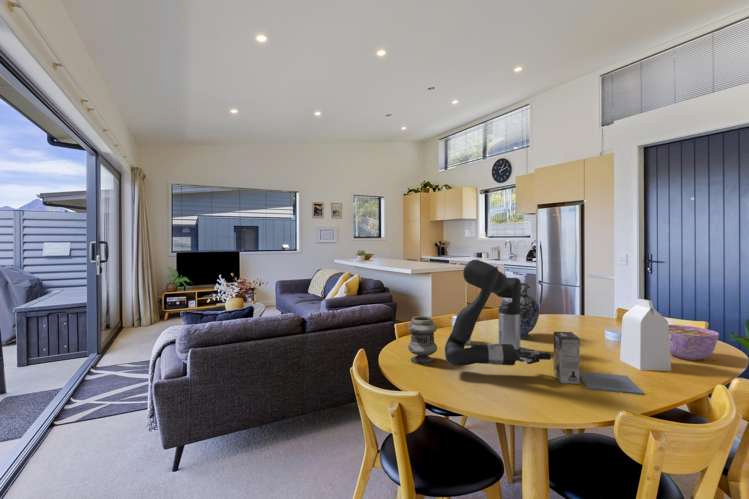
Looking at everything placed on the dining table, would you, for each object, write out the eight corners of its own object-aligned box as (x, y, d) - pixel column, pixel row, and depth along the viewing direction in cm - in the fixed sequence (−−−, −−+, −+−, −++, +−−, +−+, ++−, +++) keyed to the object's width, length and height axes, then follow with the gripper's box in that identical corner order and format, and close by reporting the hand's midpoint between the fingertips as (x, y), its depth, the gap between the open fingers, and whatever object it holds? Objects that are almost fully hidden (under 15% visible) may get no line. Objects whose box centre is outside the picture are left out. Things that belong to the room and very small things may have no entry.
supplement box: (451, 340, 182) (451, 315, 181) (466, 340, 182) (466, 315, 182) (456, 344, 174) (456, 318, 174) (471, 344, 175) (471, 318, 175)
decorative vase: (496, 331, 199) (497, 280, 199) (531, 332, 197) (532, 281, 196) (505, 341, 178) (506, 285, 178) (544, 343, 176) (545, 286, 175)
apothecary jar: (404, 363, 147) (404, 319, 147) (412, 355, 159) (411, 314, 158) (434, 366, 143) (434, 321, 143) (439, 357, 155) (439, 316, 154)
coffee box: (553, 373, 135) (552, 331, 134) (571, 374, 133) (571, 331, 133) (560, 383, 126) (560, 337, 125) (580, 384, 124) (580, 338, 124)
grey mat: (587, 389, 120) (587, 387, 120) (577, 372, 136) (577, 371, 136) (644, 395, 115) (644, 393, 115) (626, 377, 130) (626, 375, 130)
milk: (619, 360, 149) (619, 297, 149) (648, 360, 149) (648, 297, 149) (640, 370, 137) (640, 302, 137) (671, 370, 137) (671, 302, 137)
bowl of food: (654, 357, 152) (654, 330, 152) (658, 347, 167) (658, 322, 167) (719, 368, 138) (719, 338, 138) (718, 356, 153) (718, 329, 153)
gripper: (503, 349, 126) (556, 351, 124) (496, 339, 139) (544, 340, 137) (503, 370, 126) (556, 373, 124) (496, 358, 139) (544, 360, 137)
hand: (550, 356), depth 130 cm, fingers closed
